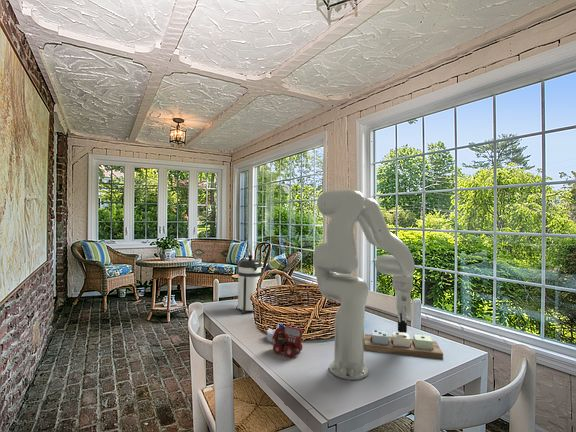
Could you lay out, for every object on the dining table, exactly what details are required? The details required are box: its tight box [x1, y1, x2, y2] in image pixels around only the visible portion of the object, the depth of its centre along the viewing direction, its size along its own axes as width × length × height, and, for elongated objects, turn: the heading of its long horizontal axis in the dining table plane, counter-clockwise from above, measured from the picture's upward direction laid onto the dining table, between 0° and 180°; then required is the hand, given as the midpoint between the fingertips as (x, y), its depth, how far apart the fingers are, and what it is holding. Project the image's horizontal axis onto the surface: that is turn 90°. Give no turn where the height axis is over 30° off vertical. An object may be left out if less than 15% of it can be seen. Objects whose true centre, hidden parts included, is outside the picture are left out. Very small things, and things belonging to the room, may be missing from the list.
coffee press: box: [235, 254, 263, 315], centre depth 173 cm, size 17×16×30 cm
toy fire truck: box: [271, 324, 303, 359], centre depth 119 cm, size 7×12×10 cm, turn 58°
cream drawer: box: [391, 331, 411, 347], centre depth 126 cm, size 6×6×3 cm
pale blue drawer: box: [371, 329, 389, 345], centre depth 128 cm, size 6×6×3 cm
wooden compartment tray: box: [364, 333, 444, 360], centre depth 126 cm, size 12×28×2 cm, turn 76°
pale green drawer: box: [412, 333, 433, 350], centre depth 124 cm, size 6×6×3 cm
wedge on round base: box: [266, 323, 285, 343], centre depth 132 cm, size 9×7×13 cm
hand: (402, 331), depth 126 cm, fingers closed
